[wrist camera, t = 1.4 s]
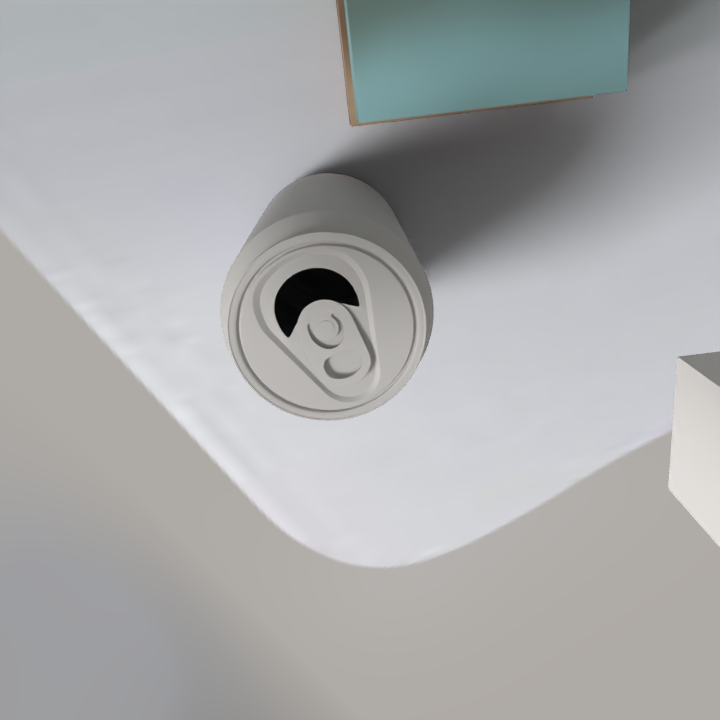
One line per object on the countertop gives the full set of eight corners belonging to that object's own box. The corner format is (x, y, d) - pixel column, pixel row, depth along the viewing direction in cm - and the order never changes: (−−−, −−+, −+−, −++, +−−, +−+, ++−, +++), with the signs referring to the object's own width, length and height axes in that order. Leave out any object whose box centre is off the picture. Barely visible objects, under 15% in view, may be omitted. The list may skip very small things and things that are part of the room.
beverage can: (364, 145, 28) (385, 175, 17) (422, 278, 30) (473, 382, 19) (232, 209, 29) (168, 278, 17) (298, 333, 31) (277, 465, 20)
